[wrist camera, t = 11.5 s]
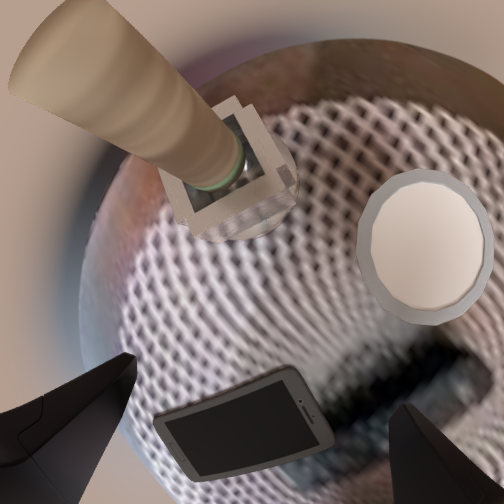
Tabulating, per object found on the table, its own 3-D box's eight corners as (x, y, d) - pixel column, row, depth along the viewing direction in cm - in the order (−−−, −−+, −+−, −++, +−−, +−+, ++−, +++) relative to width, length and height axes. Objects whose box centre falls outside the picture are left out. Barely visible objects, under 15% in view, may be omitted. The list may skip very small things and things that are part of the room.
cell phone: (153, 416, 23) (148, 420, 22) (295, 361, 20) (293, 364, 19) (194, 479, 21) (191, 484, 21) (339, 440, 18) (339, 445, 18)
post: (257, 172, 16) (101, 17, 4) (198, 205, 17) (1, 123, 5) (231, 121, 16) (95, -26, 5) (178, 153, 17) (14, 52, 6)
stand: (319, 207, 19) (311, 185, 14) (215, 260, 21) (176, 256, 16) (268, 115, 21) (246, 75, 16) (178, 167, 23) (137, 143, 18)
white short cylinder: (328, 261, 19) (322, 257, 12) (390, 181, 18) (411, 138, 11) (405, 328, 17) (436, 357, 11) (465, 246, 16) (517, 235, 10)
